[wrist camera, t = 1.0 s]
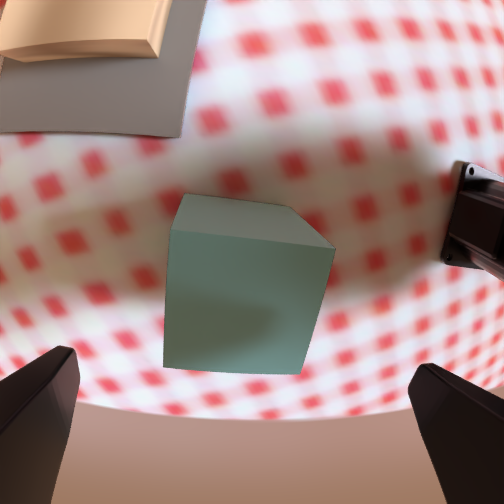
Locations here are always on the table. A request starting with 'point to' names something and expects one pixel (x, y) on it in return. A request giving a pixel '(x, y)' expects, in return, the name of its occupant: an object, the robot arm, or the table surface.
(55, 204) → the table surface
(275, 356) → the teal block
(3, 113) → the baseplate
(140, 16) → the maple base block
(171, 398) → the table surface
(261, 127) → the table surface
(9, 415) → the robot arm
